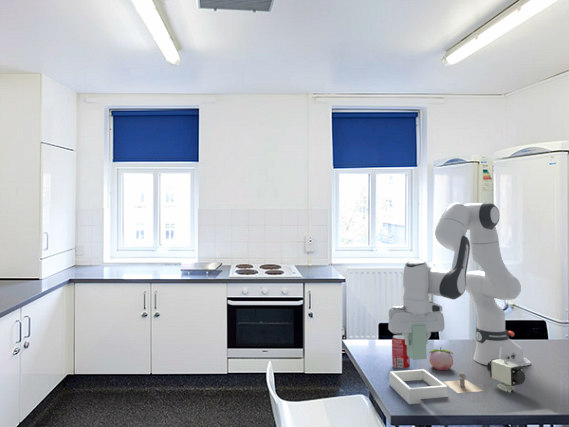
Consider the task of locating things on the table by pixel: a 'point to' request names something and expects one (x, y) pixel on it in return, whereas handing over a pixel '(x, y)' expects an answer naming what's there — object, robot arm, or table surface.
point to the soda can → (399, 353)
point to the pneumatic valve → (506, 374)
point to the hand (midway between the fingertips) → (416, 344)
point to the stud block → (462, 385)
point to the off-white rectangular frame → (418, 393)
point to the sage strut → (417, 343)
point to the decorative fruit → (441, 359)
